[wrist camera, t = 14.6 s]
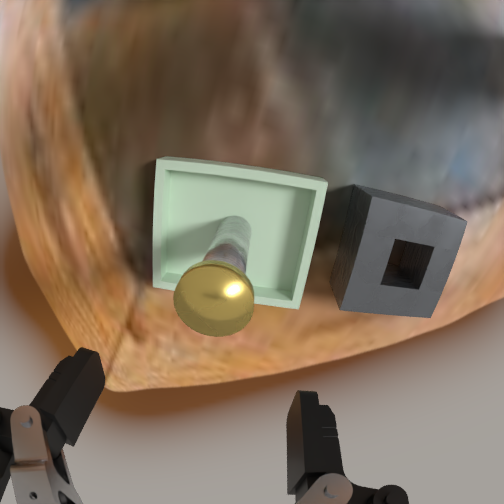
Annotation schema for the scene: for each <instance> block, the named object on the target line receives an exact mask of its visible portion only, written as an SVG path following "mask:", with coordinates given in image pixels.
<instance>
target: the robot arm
mask: <svg viewBox="0 0 504 504" xmlns="http://www.w3.org/2000/svg"><path fill="white" fill-rule="evenodd" d="M104 385H105V375H104V371H103V367H102V364H101V360H100V356H99V353H98V352H96V351H92V350H89V349H86V348H83V347H81V348H79V349H78V351H77V352H76V354H75V355H74V356H73V357H71V356H68V357H66V358H65V359H63V360H62V361H60V363H59V364H58V365H57V366H56V368H55V369H54V372H52V373H51V375H50V376H49V379H47V380H46V382H45V383H44V385H43V386H42V388H41V389H40V391H39V392H38V393H37V395H36V396H35V398H34V400H33V401H32V402H31V404H30V405H29V406H28V405H23V406H20V407H18V408H16V409H15V410H10V409H5V408H1V407H0V502H1V499H2V496H3V494H4V491H5V489H6V486H7V484H8V481H9V479H10V476H11V478H12V483H13V488H14V492H15V497H16V501H17V504H83V503H82V500H81V498H80V497H79V495H78V493H77V492H76V490H75V488H74V485H73V482H72V479H71V476H70V473H69V469H68V466H67V462H66V459H65V455H64V452H63V449H62V448H63V446H64V444H65V443H67V444H69V445H71V446H74V445H75V443H76V441H77V439H78V437H79V435H80V433H81V431H82V429H83V427H84V425H85V423H86V421H87V419H88V417H89V415H90V413H91V411H92V409H93V408H94V406H95V404H96V401H97V400H98V398H99V396H100V394H101V392H102V391H103V388H104ZM286 426H287V427H286V428H287V487H288V488H287V493H288V494H292V495H293V494H294V495H296V503H295V504H409V501H408V496H407V494H406V492H405V491H404V490H403V489H402V488H401V487H399V486H396V485H386V486H383V487H382V488H380V489H379V490H378V489H372V488H367V487H361V486H358V485H355V484H353V483H352V482H350V481H349V480H348V479H347V477H346V476H345V474H344V471H343V466H342V459H341V452H340V445H339V439H338V432H337V429H336V421H335V415H334V414H333V412H332V411H331V409H330V408H329V406H328V405H319V400H318V394H317V392H314V391H299V390H298V391H297V392H296V395H295V397H294V399H293V402H292V405H291V407H290V410H289V412H288V416H287V424H286Z"/></svg>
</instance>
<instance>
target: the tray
mask: <svg viewBox="0 0 504 504" xmlns="http://www.w3.org/2000/svg"><path fill="white" fill-rule="evenodd" d="M327 186H328V182H327V181H326V180H324V179H323V178H321V177H316V176H311V175H305V174H299V173H294V172H288V171H282V170H276V169H269V168H263V167H256V166H249V165H242V164H234V163H226V162H218V161H209V160H200V159H190V158H180V157H168V156H166V157H162V158H159V159H157V161H156V174H155V190H154V212H153V287H157V288H162V289H168V290H173V291H175V288H176V286H177V284H178V282H179V280H180V278H181V277H182V275H183V273H184V272H185V271H186V270H187V269H188V268H189V267H191V266H192V265H194V264H196V263H198V262H202V261H203V259H204V257H205V254H206V252H207V250H208V248H209V246H210V244H211V242H212V240H213V238H214V236H215V234H216V231H217V229H218V227H219V225H220V223H221V222H222V221H223V220H224V219H225V218H227V217H229V216H240V217H242V218H244V219H245V220H247V222H248V223H249V224H250V226H251V231H252V233H251V240H250V247H249V254H248V261H247V268H246V274H245V275H246V276H247V277H248V278H249V280H250V282H251V284H252V286H253V289H254V303H255V304H262V305H270V306H277V307H285V308H293V309H299V306H300V302H301V298H302V295H303V291H304V287H305V283H306V279H307V275H308V271H309V267H310V263H311V258H312V254H313V250H314V246H315V241H316V237H317V233H318V228H319V224H320V219H321V214H322V210H323V205H324V200H325V195H326V190H327Z"/></svg>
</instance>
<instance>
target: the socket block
mask: <svg viewBox="0 0 504 504" xmlns="http://www.w3.org/2000/svg"><path fill="white" fill-rule="evenodd" d="M466 225H467V221H466V220H464V219H462V218H460V217H459V216H457V215H455V214H453V213H452V212H450V211H448V210H446V209H444V208H443V207H441V206H438V205H434V204H431V203H427V202H424V201H420V200H416V199H413V198H409V197H405V196H401V195H397V194H393V193H389V192H385V191H381V190H377V189H373V188H368V187H364V186H360V185H355V184H354V187H353V191H352V196H351V200H350V205H349V209H348V213H347V218H346V222H345V226H344V230H343V234H342V238H341V242H340V246H339V250H338V253H337V257H336V261H335V264H334V268H333V272H332V275H331V279H330V285H331V288H332V290H333V293H334V296H335V298H336V301H337V304H338V307H339V309H340V310H344V311H354V312H364V313H374V314H386V315H397V316H410V317H424V318H431V316H432V314H433V312H434V309H435V307H436V305H437V303H438V301H439V298H440V296H441V294H442V291H443V289H444V286H445V284H446V282H447V279H448V277H449V274H450V271H451V269H452V266H453V263H454V261H455V258H456V255H457V252H458V250H459V247H460V244H461V241H462V238H463V234H464V231H465V228H466ZM395 239H399V240H404V241H407V243H406V246H405V249H404V252H403V256H402V259H401V262H400V265H399V266H397V265H391V264H387V263H388V260H389V257H390V254H391V251H392V247H393V244H394V241H395Z"/></svg>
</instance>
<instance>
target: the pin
mask: <svg viewBox="0 0 504 504" xmlns="http://www.w3.org/2000/svg"><path fill="white" fill-rule="evenodd" d="M251 233H252V231H251V226H250V224H249V223H248V222H247V220H245V219H244V218H242V217H240V216H229V217H227V218H225V219H224V220H223V221H222V222H221V223H220V225H219V227H218V229H217V231H216V234H215V236H214V238H213V240H212V242H211V244H210V246H209V248H208V250H207V252H206V254H205V257H204V259H203V261H202V262H198V263H196V264H194V265H192V266H191V267H189V268H188V269H187V270H186V271H185V272H184V273H183V275H182V277H181V278H180V280H179V282H178V284H177V286H176V288H175V291H174V298H173V299H174V306H175V309H176V312H177V314H178V316H179V317H180V318H181V320H182V321H183V322H184V323H185V324H186V325H187V326H188V327H190V328H191V329H193V330H195V331H196V332H199V333H201V334H204V335H208V336H214V337H221V336H228V335H232V334H234V333H236V332H238V331H240V330H242V329H243V328H244V327H245V326H246V325H247V324H248V323H249V321H250V319H251V317H252V314H253V310H254V289H253V286H252V284H251V282H250V280H249V278H248V277H247V276H246V275H245V274H246V268H247V261H248V254H249V247H250V240H251Z"/></svg>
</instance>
